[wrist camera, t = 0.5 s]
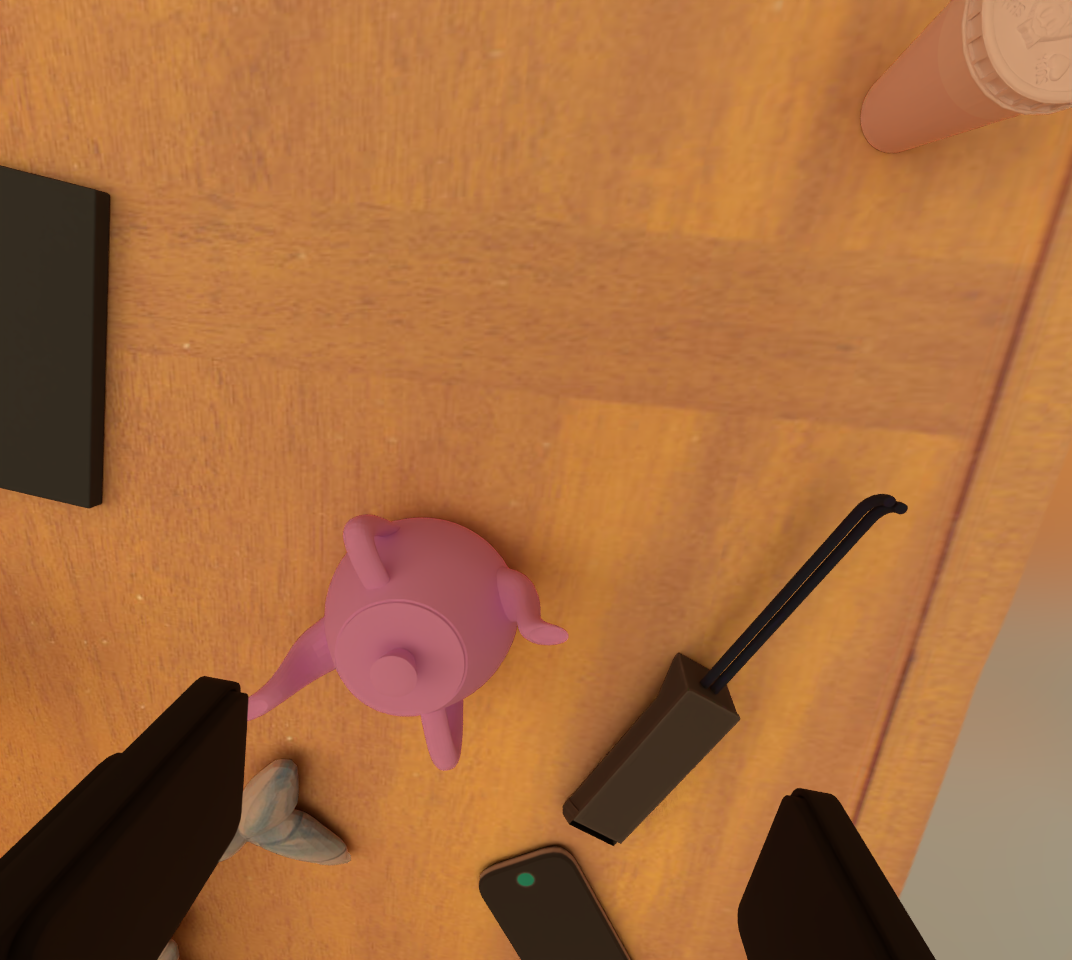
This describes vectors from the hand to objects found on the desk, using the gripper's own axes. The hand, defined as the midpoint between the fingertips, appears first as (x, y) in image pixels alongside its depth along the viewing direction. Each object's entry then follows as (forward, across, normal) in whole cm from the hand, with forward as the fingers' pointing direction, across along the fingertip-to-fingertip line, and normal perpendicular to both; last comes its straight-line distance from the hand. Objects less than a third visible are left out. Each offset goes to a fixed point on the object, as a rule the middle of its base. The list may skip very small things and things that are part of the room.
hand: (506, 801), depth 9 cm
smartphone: (+24, -9, +35) cm, 43 cm away
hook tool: (+24, -14, +11) cm, 30 cm away
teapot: (+24, +5, +10) cm, 26 cm away
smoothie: (+24, -14, -22) cm, 35 cm away
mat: (+24, +33, -1) cm, 41 cm away
